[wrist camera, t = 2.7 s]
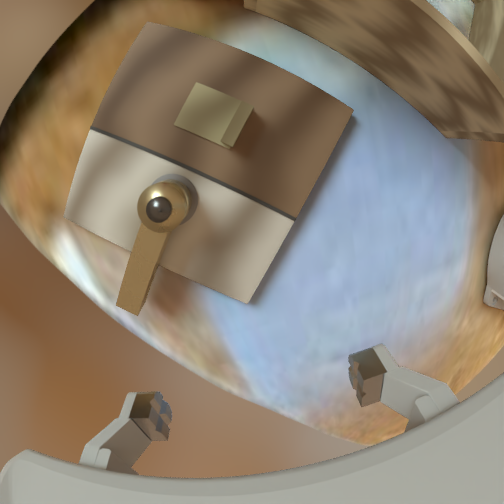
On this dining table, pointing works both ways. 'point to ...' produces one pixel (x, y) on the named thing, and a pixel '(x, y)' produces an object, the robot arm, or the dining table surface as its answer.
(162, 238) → the latch arm
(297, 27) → the box
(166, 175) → the door mockup
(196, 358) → the dining table surface
